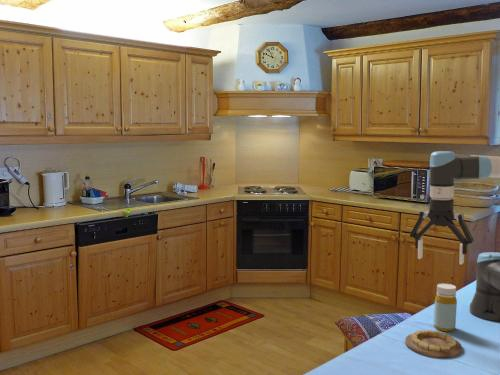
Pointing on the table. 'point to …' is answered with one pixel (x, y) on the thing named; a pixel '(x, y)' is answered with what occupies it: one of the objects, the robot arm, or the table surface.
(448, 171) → the robot arm
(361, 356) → the table surface
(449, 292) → the bottle
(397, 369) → the table surface
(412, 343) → the ring tray
